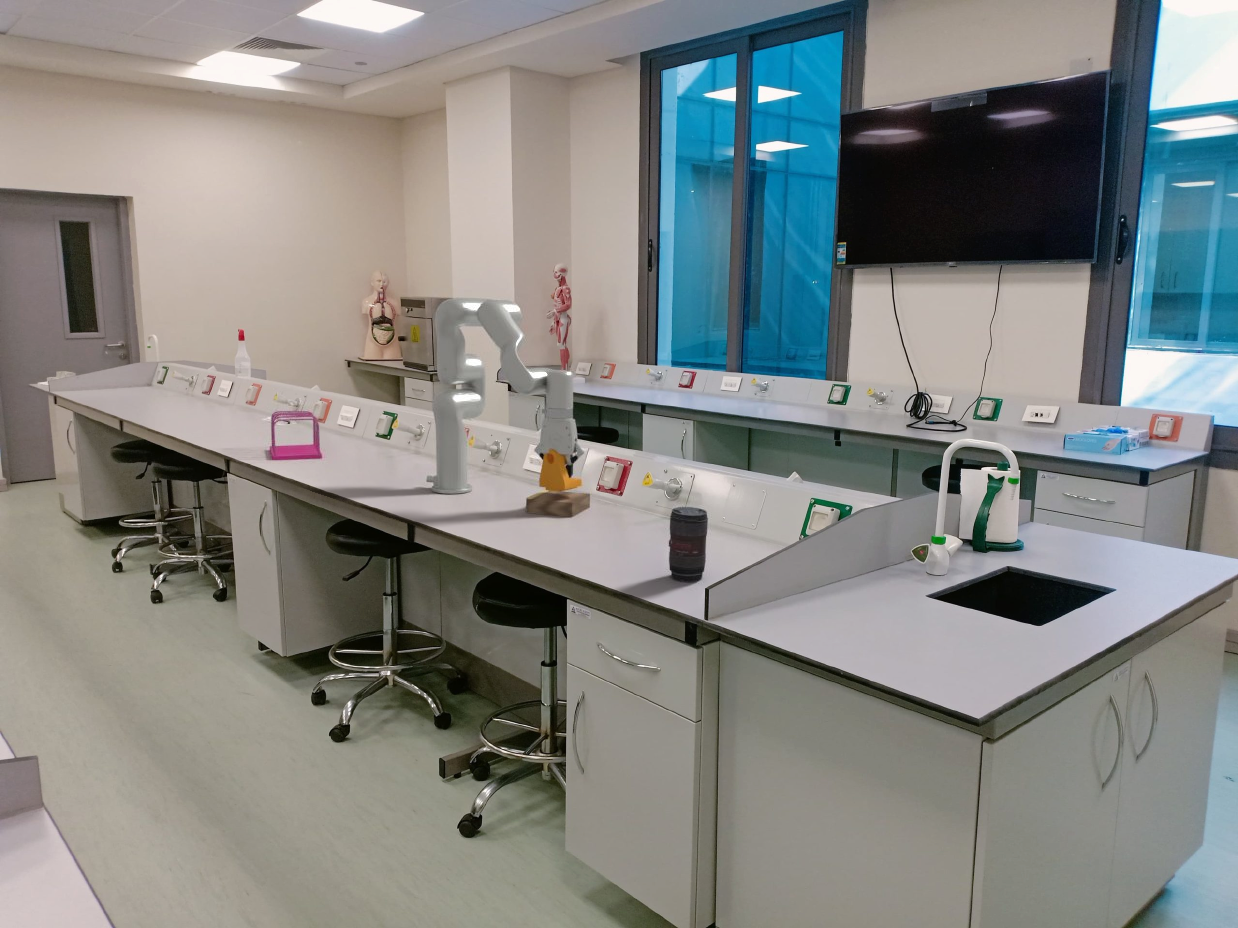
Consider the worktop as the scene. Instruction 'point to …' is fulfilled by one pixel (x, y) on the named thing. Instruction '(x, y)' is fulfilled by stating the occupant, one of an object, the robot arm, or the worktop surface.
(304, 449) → the file sorter
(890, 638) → the worktop surface
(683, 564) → the camera lens
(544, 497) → the dock
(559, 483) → the bracket
